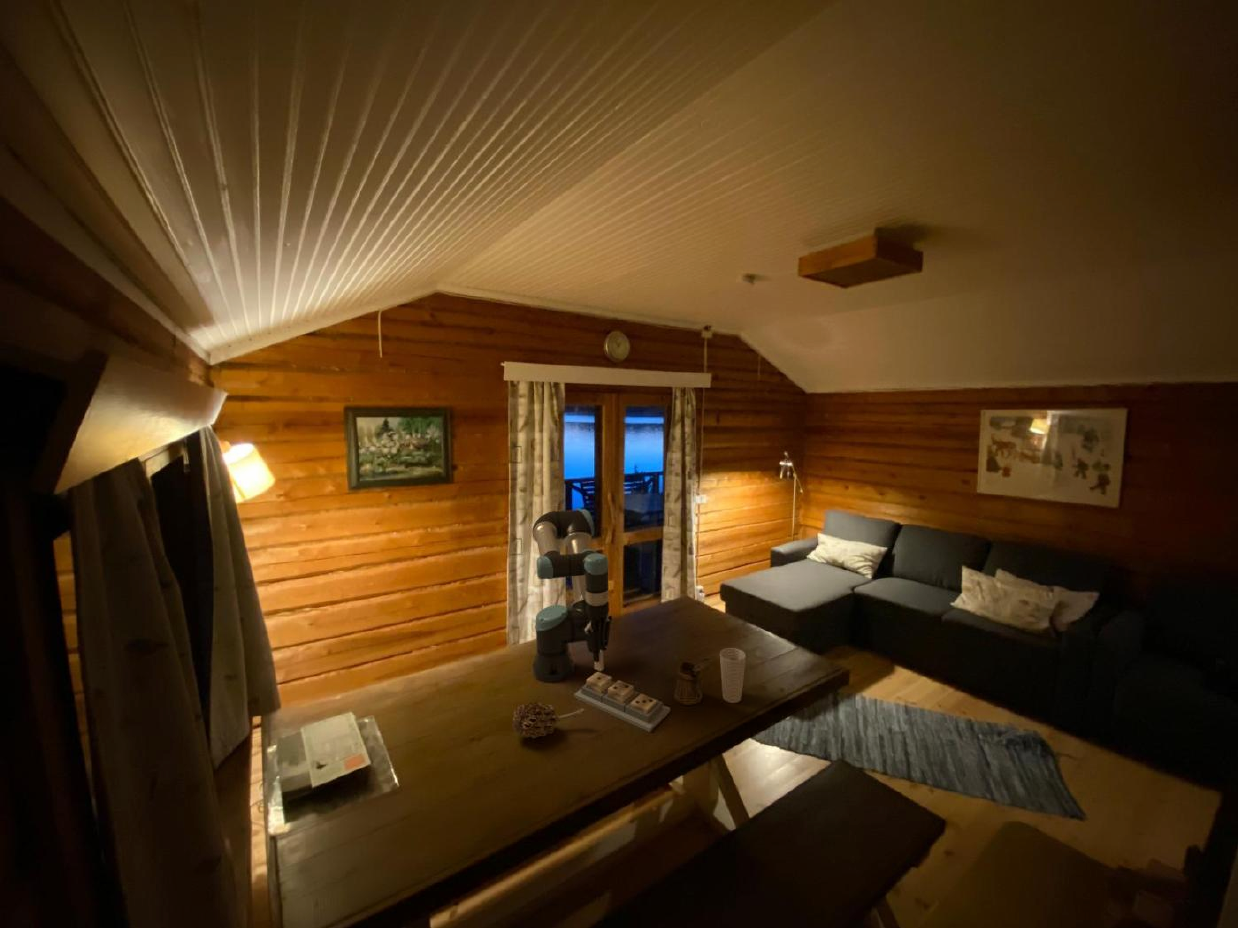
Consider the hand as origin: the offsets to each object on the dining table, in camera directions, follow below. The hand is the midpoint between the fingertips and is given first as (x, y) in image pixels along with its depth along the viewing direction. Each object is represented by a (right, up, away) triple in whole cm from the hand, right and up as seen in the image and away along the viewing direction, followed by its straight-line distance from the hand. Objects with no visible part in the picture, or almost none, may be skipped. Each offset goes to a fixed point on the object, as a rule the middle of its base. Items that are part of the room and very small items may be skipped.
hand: (599, 668), depth 170 cm
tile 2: (+7, -7, -4) cm, 11 cm away
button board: (+7, -10, -4) cm, 13 cm away
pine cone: (-14, -13, -16) cm, 25 cm away
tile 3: (+15, -9, -9) cm, 20 cm away
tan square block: (0, -7, +1) cm, 7 cm away
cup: (+44, -9, -1) cm, 45 cm away
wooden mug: (+31, -10, -2) cm, 32 cm away
